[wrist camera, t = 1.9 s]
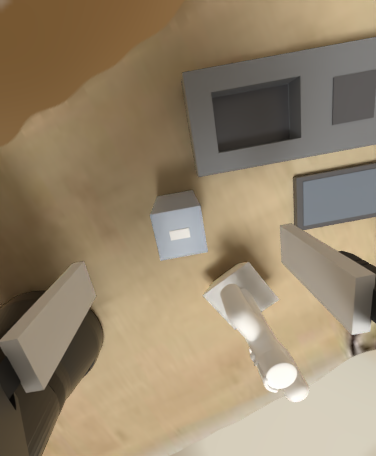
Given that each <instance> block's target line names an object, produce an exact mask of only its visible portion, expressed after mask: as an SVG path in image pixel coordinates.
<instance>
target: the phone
mask: <svg viewBox="0 0 376 456" xmlns="http://www.w3.org/2000/svg"><path fill="white" fill-rule="evenodd" d="M293 191H294V225H295V226H297V227H298V228H300V229H302V230H307V229H312V228H317V227H323V226H328V225H334V224H339V223H344V222H350V221H355V220H361V219H366V218H372V217H376V162H374V163H369V164H363V165H358V166H353V167H347V168H342V169H336V170H331V171H325V172H320V173H315V174H309V175H304V176H298V177H293Z"/></svg>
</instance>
